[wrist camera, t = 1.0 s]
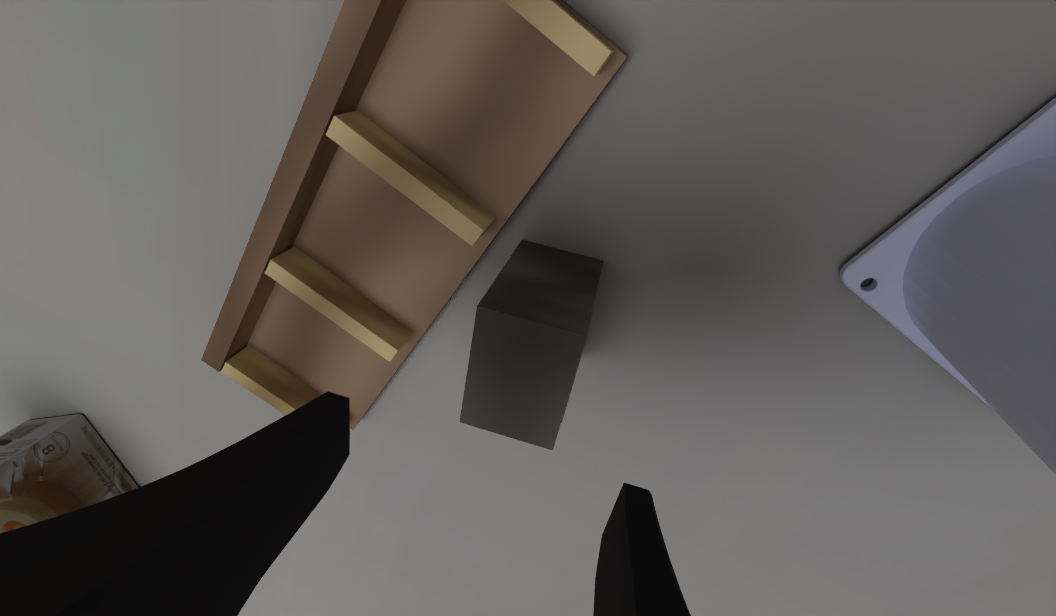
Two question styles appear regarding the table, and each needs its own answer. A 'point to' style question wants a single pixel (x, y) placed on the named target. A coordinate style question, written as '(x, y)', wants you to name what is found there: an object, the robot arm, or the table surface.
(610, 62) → the rack
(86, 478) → the coffee box
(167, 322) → the table surface
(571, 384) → the black box
